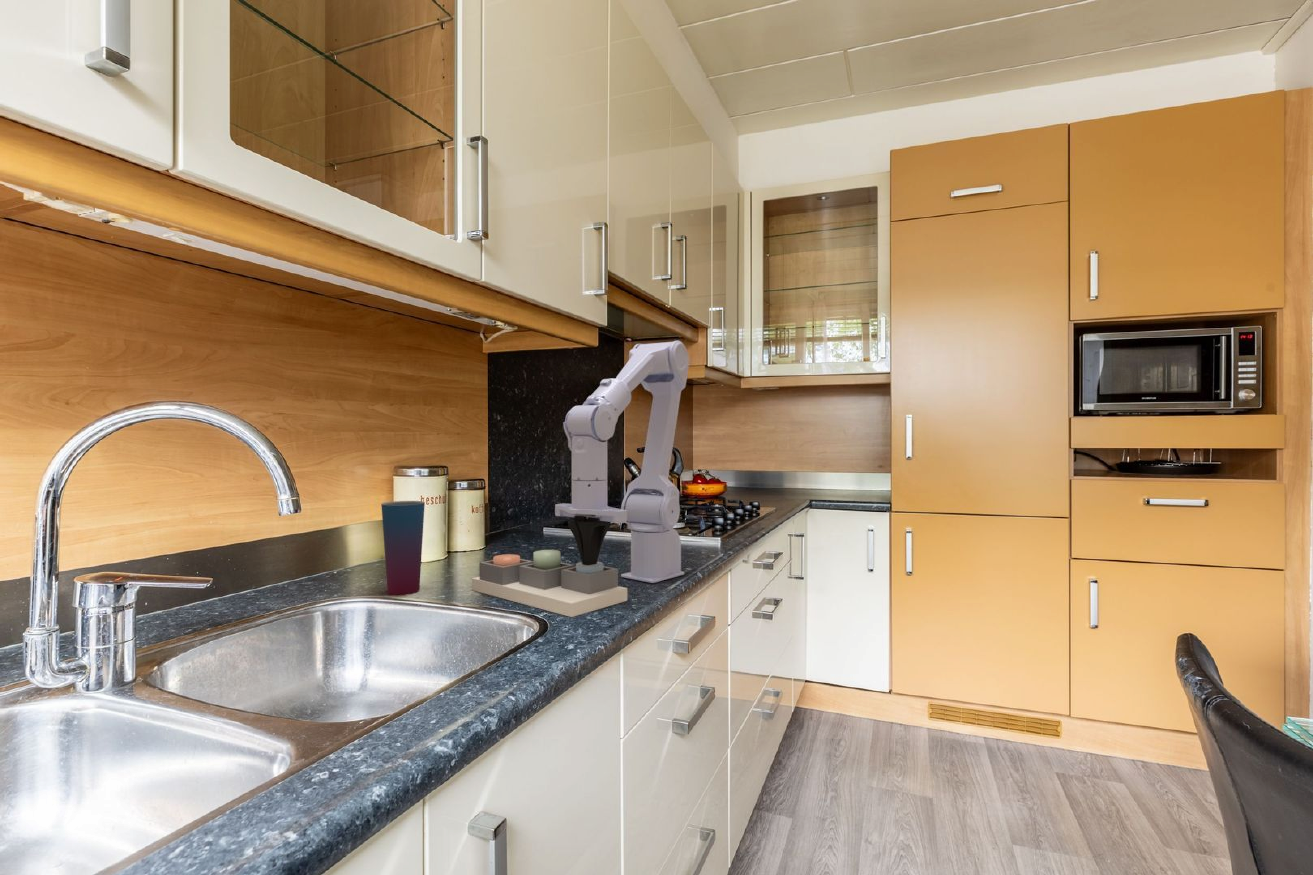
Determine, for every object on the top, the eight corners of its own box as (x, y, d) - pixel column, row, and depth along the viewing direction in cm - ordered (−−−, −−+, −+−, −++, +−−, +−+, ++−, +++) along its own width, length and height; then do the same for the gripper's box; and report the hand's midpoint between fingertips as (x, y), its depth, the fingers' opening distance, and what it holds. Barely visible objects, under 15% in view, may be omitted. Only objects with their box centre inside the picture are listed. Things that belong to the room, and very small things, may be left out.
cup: (415, 596, 105) (415, 505, 105) (374, 596, 105) (374, 505, 105) (431, 586, 112) (430, 500, 112) (392, 586, 112) (392, 500, 112)
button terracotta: (509, 567, 112) (509, 553, 112) (525, 570, 109) (525, 556, 109) (488, 571, 109) (488, 557, 109) (503, 574, 106) (503, 560, 106)
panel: (527, 577, 119) (527, 551, 119) (627, 600, 103) (627, 570, 103) (471, 589, 110) (471, 561, 110) (571, 617, 93) (571, 583, 93)
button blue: (590, 574, 106) (589, 560, 106) (609, 578, 103) (609, 563, 103) (570, 579, 103) (570, 564, 103) (589, 583, 100) (589, 567, 100)
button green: (548, 562, 109) (548, 548, 109) (566, 566, 106) (566, 551, 106) (527, 567, 106) (527, 552, 106) (545, 570, 103) (545, 555, 103)
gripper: (540, 479, 105) (540, 562, 105) (604, 483, 95) (604, 574, 95) (572, 476, 110) (572, 555, 110) (635, 480, 101) (635, 567, 101)
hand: (589, 564), depth 103 cm, fingers closed, pressing on button blue
